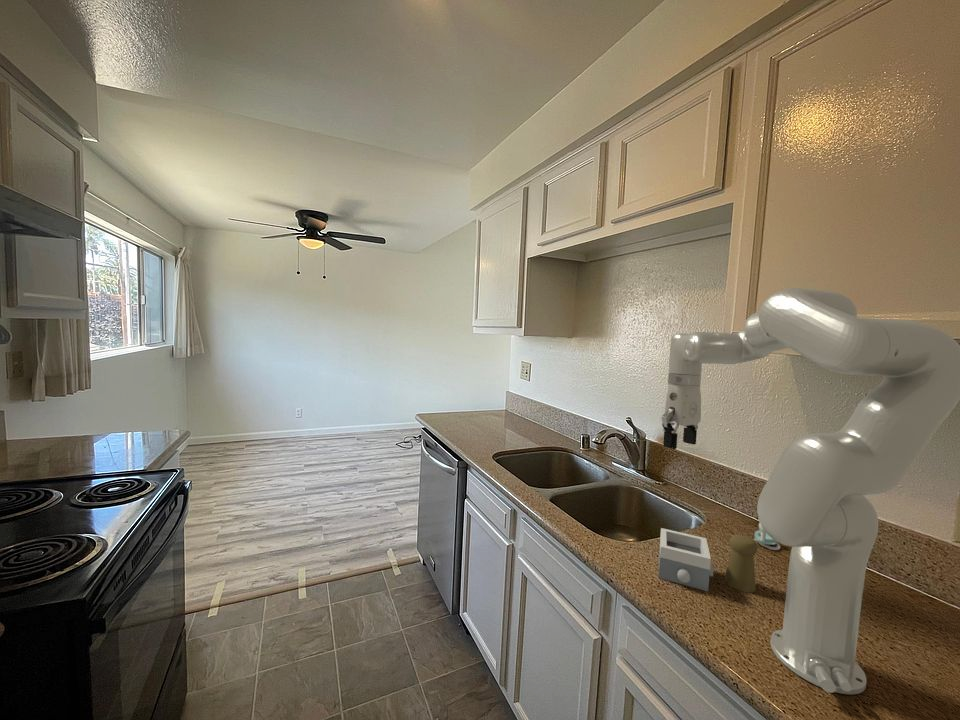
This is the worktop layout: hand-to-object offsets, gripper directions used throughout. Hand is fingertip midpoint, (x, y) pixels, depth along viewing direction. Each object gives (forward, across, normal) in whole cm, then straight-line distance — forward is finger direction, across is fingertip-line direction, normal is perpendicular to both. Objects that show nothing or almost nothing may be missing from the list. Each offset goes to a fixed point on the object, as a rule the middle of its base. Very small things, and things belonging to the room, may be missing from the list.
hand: (679, 445), depth 102 cm
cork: (+28, -1, -16) cm, 33 cm away
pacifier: (+28, +26, -13) cm, 40 cm away
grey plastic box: (+28, -9, -7) cm, 30 cm away
